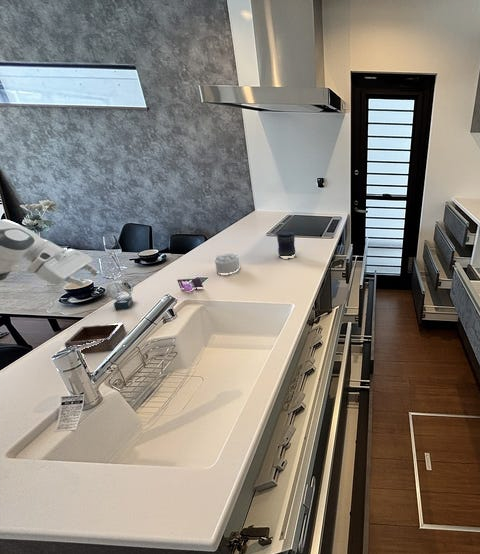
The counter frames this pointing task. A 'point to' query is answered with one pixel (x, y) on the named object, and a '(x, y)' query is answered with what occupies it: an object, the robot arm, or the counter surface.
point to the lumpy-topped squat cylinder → (227, 264)
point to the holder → (98, 337)
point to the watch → (121, 301)
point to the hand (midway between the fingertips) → (90, 278)
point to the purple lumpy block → (188, 287)
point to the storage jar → (286, 242)
